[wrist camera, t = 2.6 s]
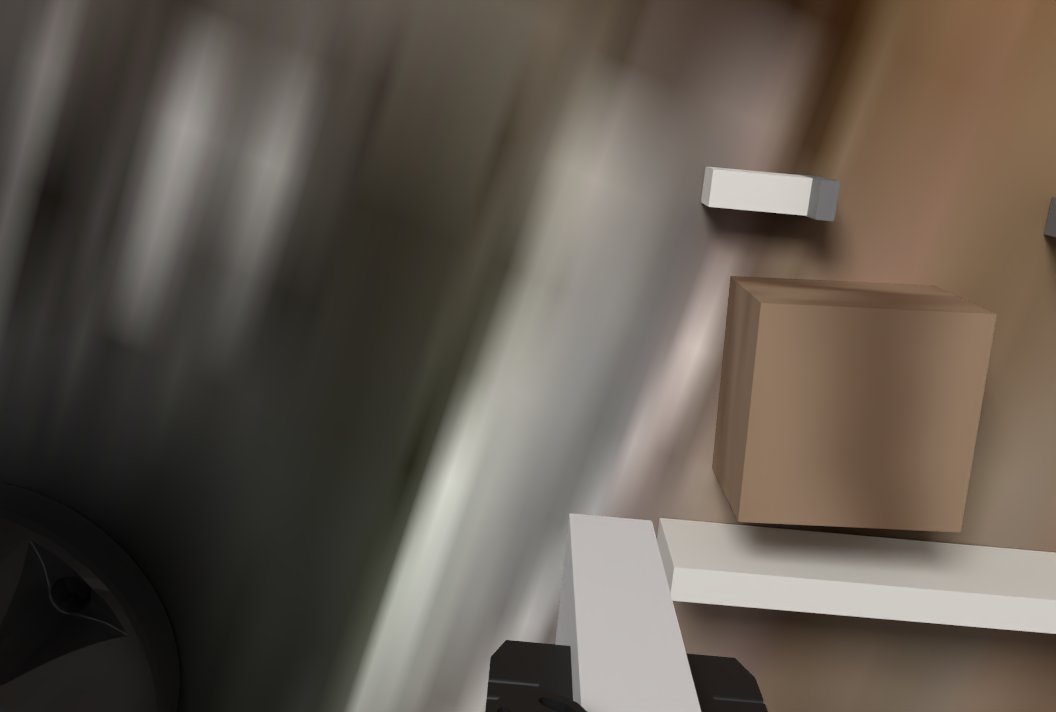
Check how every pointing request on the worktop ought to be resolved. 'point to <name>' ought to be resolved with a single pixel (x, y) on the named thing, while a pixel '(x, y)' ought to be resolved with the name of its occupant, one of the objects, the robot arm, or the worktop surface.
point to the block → (850, 403)
